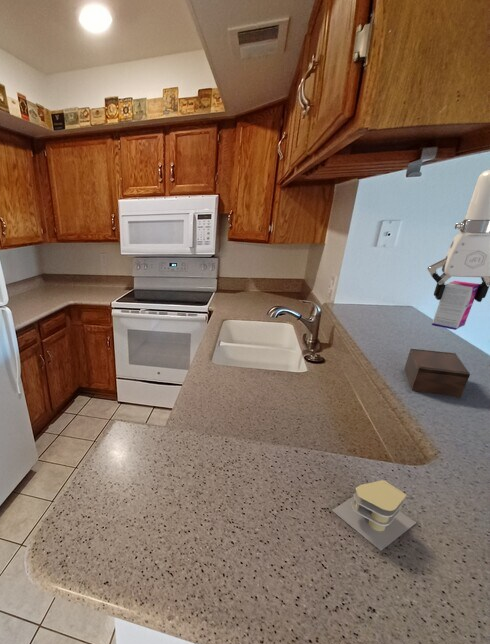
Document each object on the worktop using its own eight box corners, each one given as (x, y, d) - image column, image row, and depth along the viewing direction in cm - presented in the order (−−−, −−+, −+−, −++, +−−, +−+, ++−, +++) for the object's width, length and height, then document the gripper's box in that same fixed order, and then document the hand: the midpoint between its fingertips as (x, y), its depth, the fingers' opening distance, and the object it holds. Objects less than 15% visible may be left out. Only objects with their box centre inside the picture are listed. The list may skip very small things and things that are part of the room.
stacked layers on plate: (366, 488, 63) (372, 466, 61) (416, 522, 56) (426, 500, 53) (331, 510, 59) (337, 488, 57) (380, 551, 52) (389, 527, 49)
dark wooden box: (447, 374, 100) (455, 353, 96) (460, 397, 88) (470, 374, 85) (404, 369, 104) (410, 348, 101) (411, 390, 93) (419, 367, 90)
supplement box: (456, 330, 86) (472, 287, 81) (430, 325, 91) (443, 283, 86) (465, 325, 89) (480, 283, 84) (440, 320, 94) (452, 280, 89)
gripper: (441, 230, 79) (419, 301, 87) (539, 227, 72) (506, 305, 80) (434, 227, 85) (415, 294, 93) (524, 225, 78) (495, 298, 86)
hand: (457, 299), depth 87 cm, fingers closed on supplement box, 7 cm apart
